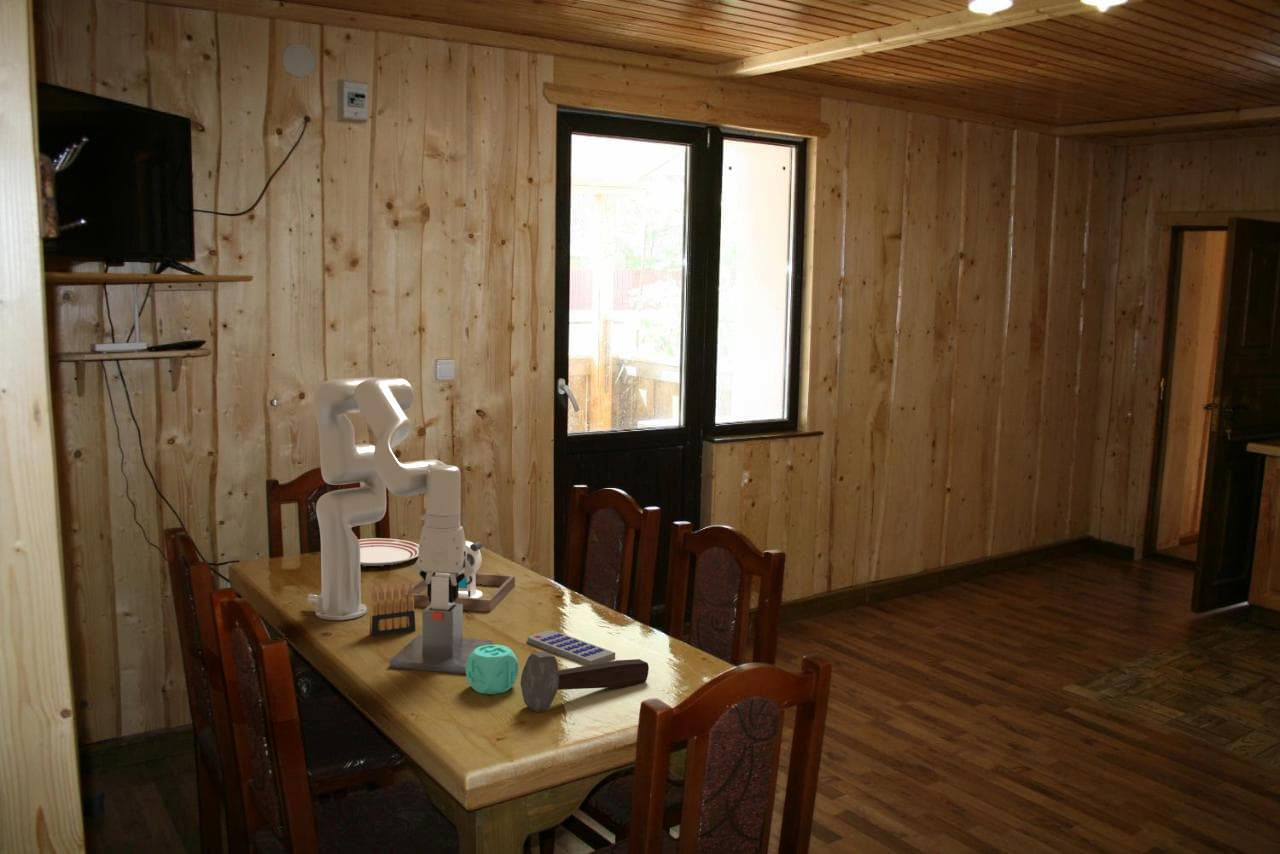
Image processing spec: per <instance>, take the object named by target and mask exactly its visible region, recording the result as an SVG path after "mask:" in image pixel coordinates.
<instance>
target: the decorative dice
mask: <svg viewBox="0 0 1280 854" xmlns="http://www.w3.org/2000/svg"><path fill="white" fill-rule="evenodd" d="M519 668H520V666H519V661H518V658H517V656H516V654H515V652H514V651H513V650H512V649H511V648H510V647H509V646H506V645H503V644H502V645H501V644H493V645H484V646H480V647H478V648H476V649H475V650H474V651H473V652H472V653H471V655H470V656H469V658H468V660H467V664H466V674H465V676H466V679H467V682H468V684H469V686H470V687H471V688H472V689H473V690H474V691H475V692H477V693H480V694H484V695H499V694H502V693H506V692H507V691H509V690H510V689H511V688H512V687H513V686H514V684H515V683H516V681H517V679H518V677H519V676H518V675H519V671H520V669H519Z"/></svg>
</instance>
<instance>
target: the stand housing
mask: <svg viewBox="0 0 1280 854" xmlns="http://www.w3.org/2000/svg"><path fill="white" fill-rule="evenodd" d="M463 611H464V610H463V604H457V603H454V608H453V609H452V610H451V611H450V612H449V611H436V610H431V604H430V605H429V606H428V607H424V609H423V610H422V613H421V615H422V621H421V622H422V632H421V633H422V634H417V635H416V636H415V637H414V638H413V639H412V640H411V641H410V642H408V644H406V645H405V646H404V647H403V648H402V649H401V650H400V651H398V652H397V653H396V654H395V655H394V656H393V657H392V658H391V659H390V660H389V668H392V669H405V670H415V671H426V672H427V671H429V672H440V673H441V672H442V673H453V674H463V675H464V674H465V675H466V664H467V660H468V658H469V656H470V655H471V653H472V652H473V651H474V650H475V649H476V648H478V647H480V646H484V645H494V644H493V641H494V640H493V639H483V638H470V637H469V638H467V637H463V631H464V630H463V628H464V627H463V626H464V625H463V624H464V623H463V622H464V619H463V617H464V616H463V615H464V612H463Z"/></svg>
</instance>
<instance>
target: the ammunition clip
mask: <svg viewBox="0 0 1280 854" xmlns="http://www.w3.org/2000/svg"><path fill="white" fill-rule="evenodd" d="M412 585H413V583H412V582H409V584H408V588H407V589H408V599H406V590H407V589H406V585H405V583H404V582H403V583H402V584H401V587H400V594H399V587H398V584H397V583H396V584H395V585H394V587H393V597H392V588H391V586H390V584H387V587H386V595H385V591H384V587H383V585H380V586H379V587H380V588H379V590H378V591H379V592H378V594H377V588H376V586H373V587H372V591H371V603H370V618H369V619H370V621H369V635H370V636H371V637H372V636H374V637H380V636H388V635H395V634H404V633H411V632H416V611H415V606H414V596H413V586H412ZM399 595H400V597H399ZM385 599H386V600H385Z"/></svg>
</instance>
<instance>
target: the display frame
mask: <svg viewBox="0 0 1280 854" xmlns="http://www.w3.org/2000/svg"><path fill="white" fill-rule="evenodd" d="M480 584H482V585H483V586H494V585H496V586H497V587H498V588H497V590H495V591H494V592H493V593H492V594H491V595H490V596H489V597H488V598H482V597H481V598H467V597H458V598H457V599H456V600H455V601H454V603H457V604H463V611H476V612H492V611H493V609H494V608H496V607H497V606H498V604H500V602H501V601H502V600H504V598H505V597H506V596H507V595H508V594H509V593H510V591H512V590H513V589H514V588H515V587H516V575H513V574H499V573H498V574H497V573H486V572H485V573H484V572H476V585H480ZM412 586H413V596H414V607H424V608H427V607H428V606H429V605H430V604H431V602H430V601H429V597H428V596H427V593H426V594H424V593H423V594H422V592H423V591H425V590H426V589H427V588H426V587H427V584H426V582H425V580H424V579H423V578H422V577H421V578H420V579H419V580H417V581H416V582H415V583H414V584H412ZM514 586H515V587H514ZM425 588H426V589H425ZM424 589H425V590H424ZM421 591H422V592H421ZM420 592H421V593H420ZM419 593H420V594H419ZM406 599H408V588H407V589H406Z"/></svg>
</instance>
